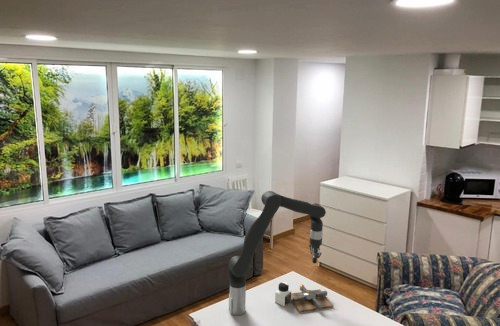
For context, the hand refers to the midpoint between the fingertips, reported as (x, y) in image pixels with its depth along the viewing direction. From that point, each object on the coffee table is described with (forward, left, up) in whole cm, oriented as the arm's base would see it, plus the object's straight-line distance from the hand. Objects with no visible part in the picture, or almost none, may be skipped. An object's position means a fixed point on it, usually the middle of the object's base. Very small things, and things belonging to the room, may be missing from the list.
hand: (314, 262), depth 235 cm
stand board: (-4, -5, -23) cm, 24 cm away
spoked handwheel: (-4, -5, -21) cm, 22 cm away
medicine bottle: (-20, -1, -23) cm, 31 cm away
